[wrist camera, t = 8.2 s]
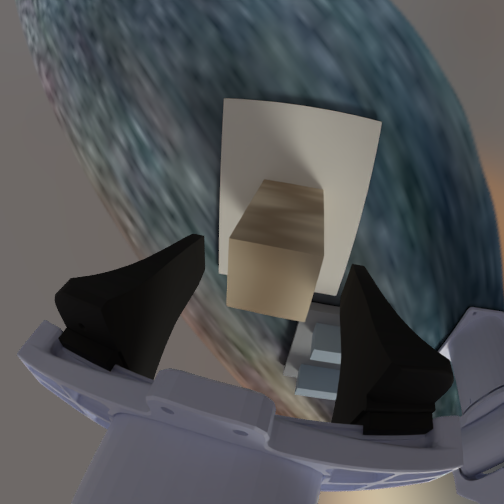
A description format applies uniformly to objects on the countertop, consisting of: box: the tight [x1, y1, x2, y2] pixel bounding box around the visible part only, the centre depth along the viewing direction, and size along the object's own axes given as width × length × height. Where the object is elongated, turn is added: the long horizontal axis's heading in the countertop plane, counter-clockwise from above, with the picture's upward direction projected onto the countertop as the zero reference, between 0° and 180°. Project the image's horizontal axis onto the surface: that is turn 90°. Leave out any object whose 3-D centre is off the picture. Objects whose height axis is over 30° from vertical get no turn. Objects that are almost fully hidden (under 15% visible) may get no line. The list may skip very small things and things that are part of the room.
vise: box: [283, 302, 341, 400], centre depth 24 cm, size 9×11×4 cm
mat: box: [219, 98, 382, 296], centre depth 19 cm, size 10×14×1 cm
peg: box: [227, 179, 324, 322], centre depth 16 cm, size 4×4×8 cm
